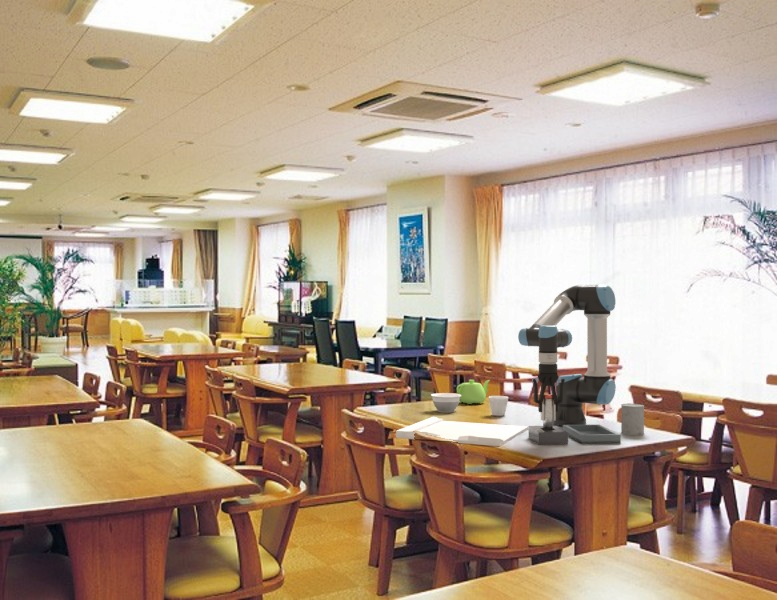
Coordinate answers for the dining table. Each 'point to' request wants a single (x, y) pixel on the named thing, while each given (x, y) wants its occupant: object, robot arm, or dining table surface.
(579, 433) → the slate tray
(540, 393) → the robot arm
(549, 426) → the lynch pin
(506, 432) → the white flat slab
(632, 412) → the grey cylinder
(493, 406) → the cup
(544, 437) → the block
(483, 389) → the teapot
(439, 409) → the bowl
